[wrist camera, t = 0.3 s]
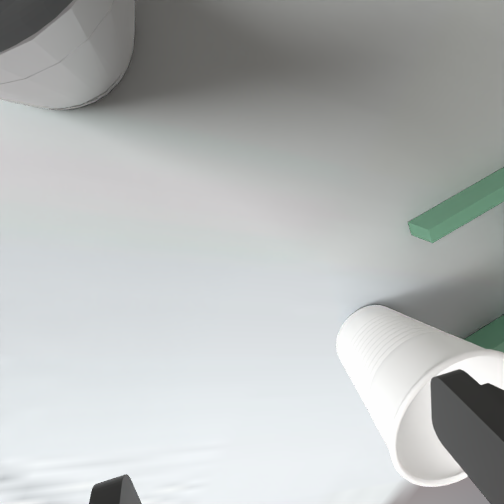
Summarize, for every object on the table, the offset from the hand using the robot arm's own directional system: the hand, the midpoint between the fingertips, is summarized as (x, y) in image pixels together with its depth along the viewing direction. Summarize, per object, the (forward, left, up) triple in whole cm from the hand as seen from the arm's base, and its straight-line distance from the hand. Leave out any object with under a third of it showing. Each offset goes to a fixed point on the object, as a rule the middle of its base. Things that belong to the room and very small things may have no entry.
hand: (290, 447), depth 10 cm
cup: (+15, +9, -19) cm, 26 cm away
